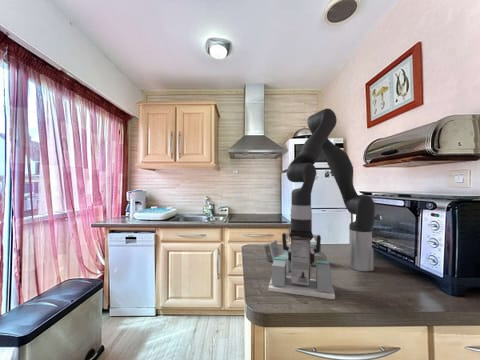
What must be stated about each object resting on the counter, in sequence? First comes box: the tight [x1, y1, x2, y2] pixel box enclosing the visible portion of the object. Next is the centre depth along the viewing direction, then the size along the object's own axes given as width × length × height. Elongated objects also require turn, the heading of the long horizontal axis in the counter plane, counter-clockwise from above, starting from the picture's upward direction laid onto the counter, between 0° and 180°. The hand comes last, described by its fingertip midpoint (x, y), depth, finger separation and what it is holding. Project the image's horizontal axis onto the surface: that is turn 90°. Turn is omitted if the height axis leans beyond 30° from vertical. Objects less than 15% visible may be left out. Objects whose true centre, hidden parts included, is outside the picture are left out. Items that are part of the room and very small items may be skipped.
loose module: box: [278, 251, 291, 273], centre depth 106 cm, size 5×7×6 cm
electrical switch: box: [263, 239, 281, 263], centre depth 118 cm, size 9×5×9 cm, turn 152°
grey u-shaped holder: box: [268, 257, 336, 300], centre depth 86 cm, size 22×12×9 cm, turn 75°
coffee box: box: [290, 236, 311, 285], centre depth 87 cm, size 9×6×16 cm
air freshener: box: [310, 241, 328, 267], centre depth 113 cm, size 11×8×10 cm
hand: (301, 262), depth 86 cm, fingers closed on coffee box, 6 cm apart
